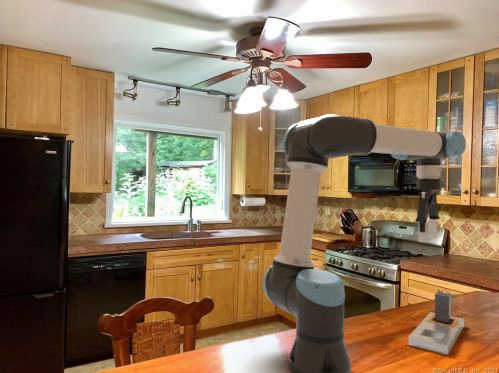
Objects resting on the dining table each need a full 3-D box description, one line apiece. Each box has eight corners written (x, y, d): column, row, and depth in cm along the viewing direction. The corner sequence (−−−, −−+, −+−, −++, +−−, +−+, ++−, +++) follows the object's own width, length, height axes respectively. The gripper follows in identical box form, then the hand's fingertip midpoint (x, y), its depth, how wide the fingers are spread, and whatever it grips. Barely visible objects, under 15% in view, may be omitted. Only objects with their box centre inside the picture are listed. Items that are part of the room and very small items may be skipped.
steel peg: (434, 328, 119) (435, 294, 119) (437, 325, 122) (437, 291, 122) (448, 332, 117) (449, 296, 117) (451, 328, 120) (451, 293, 120)
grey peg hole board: (408, 345, 107) (408, 335, 107) (430, 319, 127) (430, 311, 127) (447, 355, 101) (447, 345, 101) (463, 326, 121) (464, 318, 121)
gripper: (431, 177, 117) (431, 245, 118) (447, 178, 137) (447, 236, 137) (406, 177, 122) (406, 242, 122) (425, 178, 142) (425, 234, 142)
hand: (427, 239), depth 130 cm, fingers open, 13 cm apart
